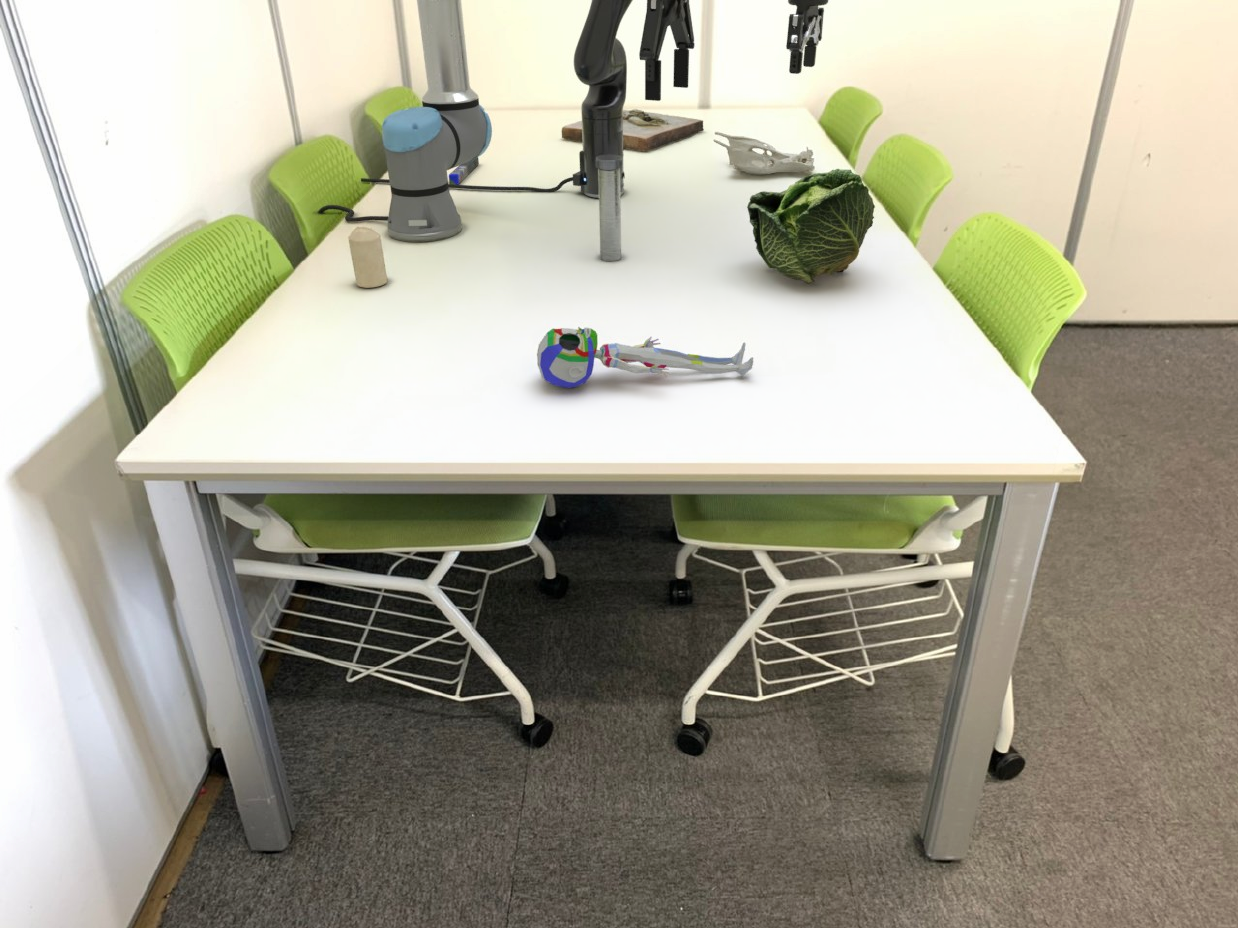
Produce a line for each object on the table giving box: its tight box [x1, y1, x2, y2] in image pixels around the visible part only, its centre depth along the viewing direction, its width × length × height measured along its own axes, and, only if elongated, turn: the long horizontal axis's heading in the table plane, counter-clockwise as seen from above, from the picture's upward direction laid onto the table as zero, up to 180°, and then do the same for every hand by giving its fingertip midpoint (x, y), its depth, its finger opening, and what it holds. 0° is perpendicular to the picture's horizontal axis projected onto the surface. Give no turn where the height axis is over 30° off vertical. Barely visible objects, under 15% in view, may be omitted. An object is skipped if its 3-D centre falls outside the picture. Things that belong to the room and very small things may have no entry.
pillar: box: [448, 157, 480, 185], centre depth 225 cm, size 2×2×20 cm
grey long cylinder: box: [598, 168, 622, 262], centre depth 167 cm, size 4×4×18 cm
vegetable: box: [746, 168, 876, 284], centre depth 158 cm, size 20×19×20 cm
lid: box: [596, 154, 622, 170], centre depth 162 cm, size 5×5×2 cm
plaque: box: [561, 108, 705, 152], centre depth 257 cm, size 30×7×30 cm
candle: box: [347, 226, 388, 289], centre depth 159 cm, size 6×6×10 cm
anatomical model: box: [713, 131, 815, 176], centre depth 221 cm, size 15×9×25 cm
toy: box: [536, 326, 754, 389], centre depth 127 cm, size 10×8×30 cm
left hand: (667, 93), depth 164 cm, fingers open, 13 cm apart
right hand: (802, 70), depth 176 cm, fingers open, 8 cm apart
